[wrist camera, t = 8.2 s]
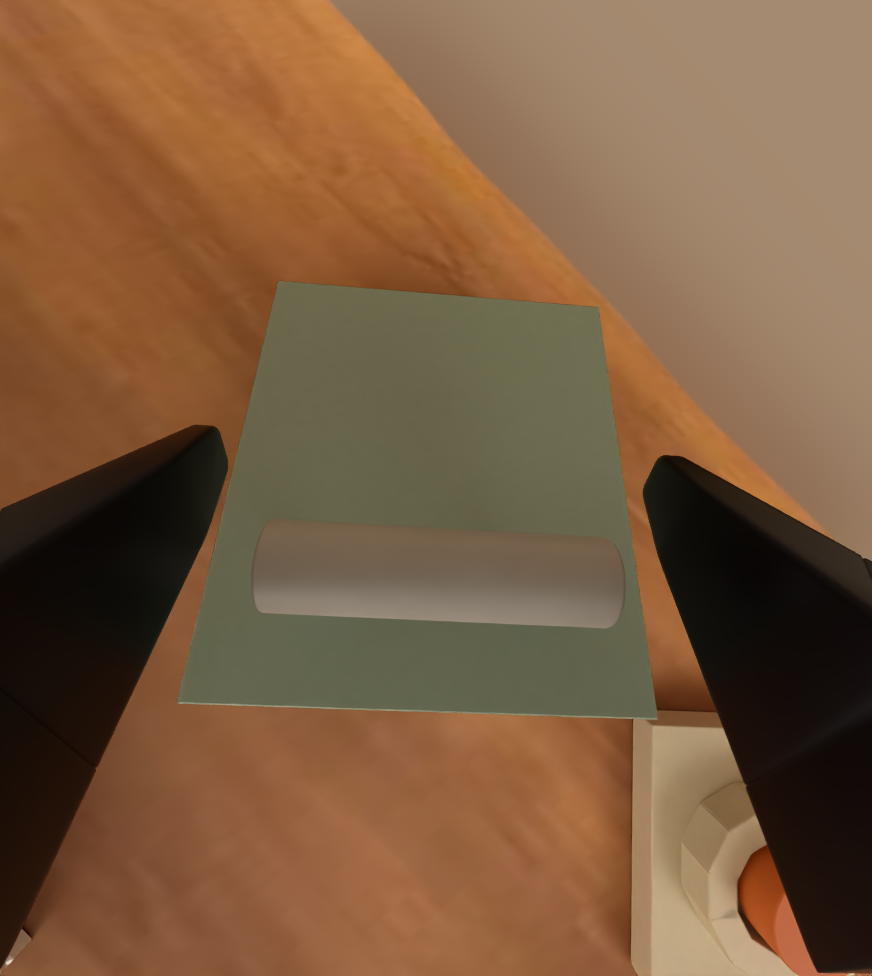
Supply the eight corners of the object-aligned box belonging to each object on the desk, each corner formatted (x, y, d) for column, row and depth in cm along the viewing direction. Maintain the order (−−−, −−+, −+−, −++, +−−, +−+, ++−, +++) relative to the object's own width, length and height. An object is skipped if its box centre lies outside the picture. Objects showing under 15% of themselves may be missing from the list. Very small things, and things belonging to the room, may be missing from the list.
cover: (644, 716, 11) (833, 755, 6) (189, 701, 11) (3, 730, 6) (591, 320, 16) (671, 171, 11) (283, 295, 16) (228, 127, 11)
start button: (824, 938, 17) (871, 984, 15) (737, 937, 17) (775, 984, 15) (821, 841, 17) (866, 875, 16) (736, 839, 17) (772, 874, 16)
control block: (819, 963, 20) (905, 1054, 17) (629, 962, 20) (677, 1056, 16) (812, 715, 21) (891, 752, 18) (632, 708, 21) (677, 745, 17)
